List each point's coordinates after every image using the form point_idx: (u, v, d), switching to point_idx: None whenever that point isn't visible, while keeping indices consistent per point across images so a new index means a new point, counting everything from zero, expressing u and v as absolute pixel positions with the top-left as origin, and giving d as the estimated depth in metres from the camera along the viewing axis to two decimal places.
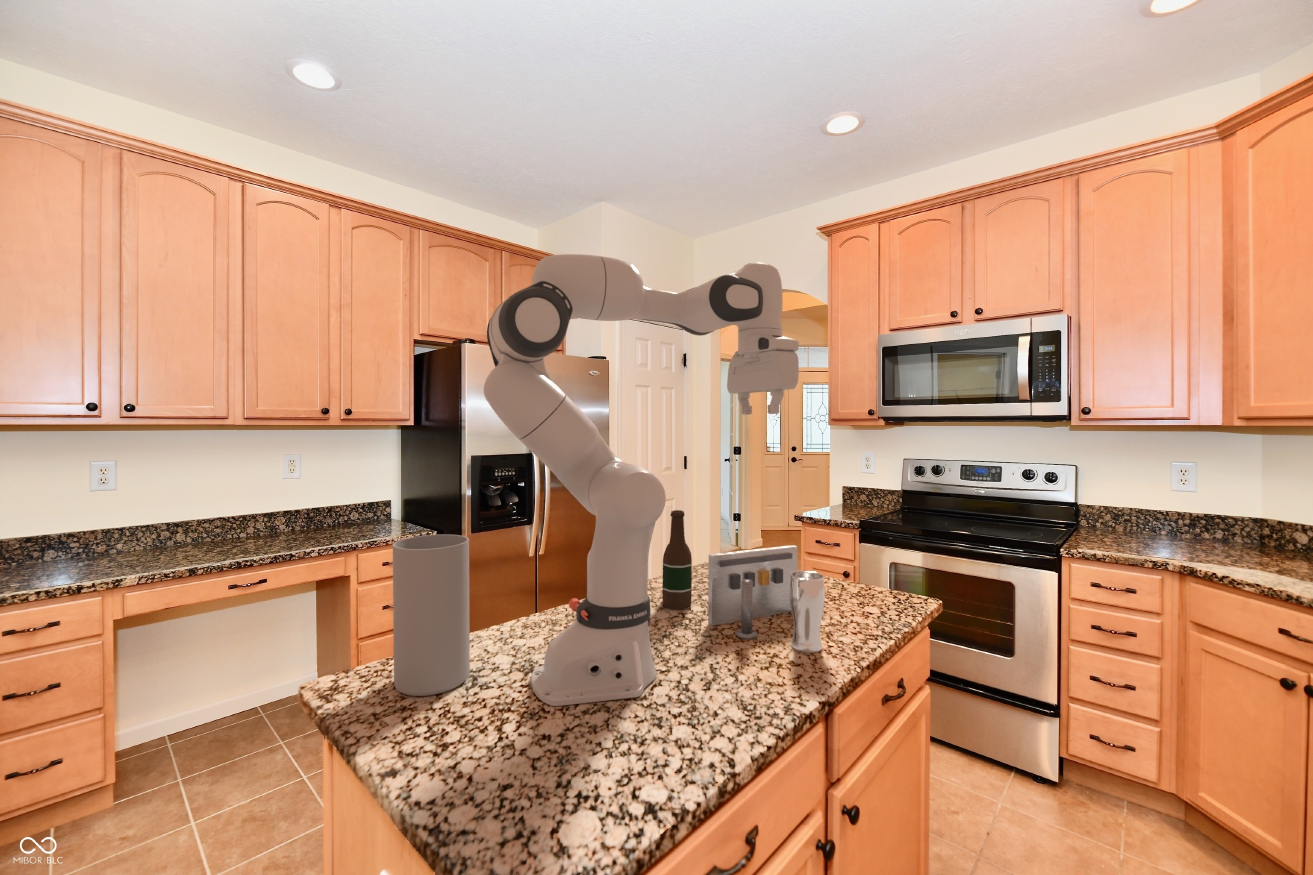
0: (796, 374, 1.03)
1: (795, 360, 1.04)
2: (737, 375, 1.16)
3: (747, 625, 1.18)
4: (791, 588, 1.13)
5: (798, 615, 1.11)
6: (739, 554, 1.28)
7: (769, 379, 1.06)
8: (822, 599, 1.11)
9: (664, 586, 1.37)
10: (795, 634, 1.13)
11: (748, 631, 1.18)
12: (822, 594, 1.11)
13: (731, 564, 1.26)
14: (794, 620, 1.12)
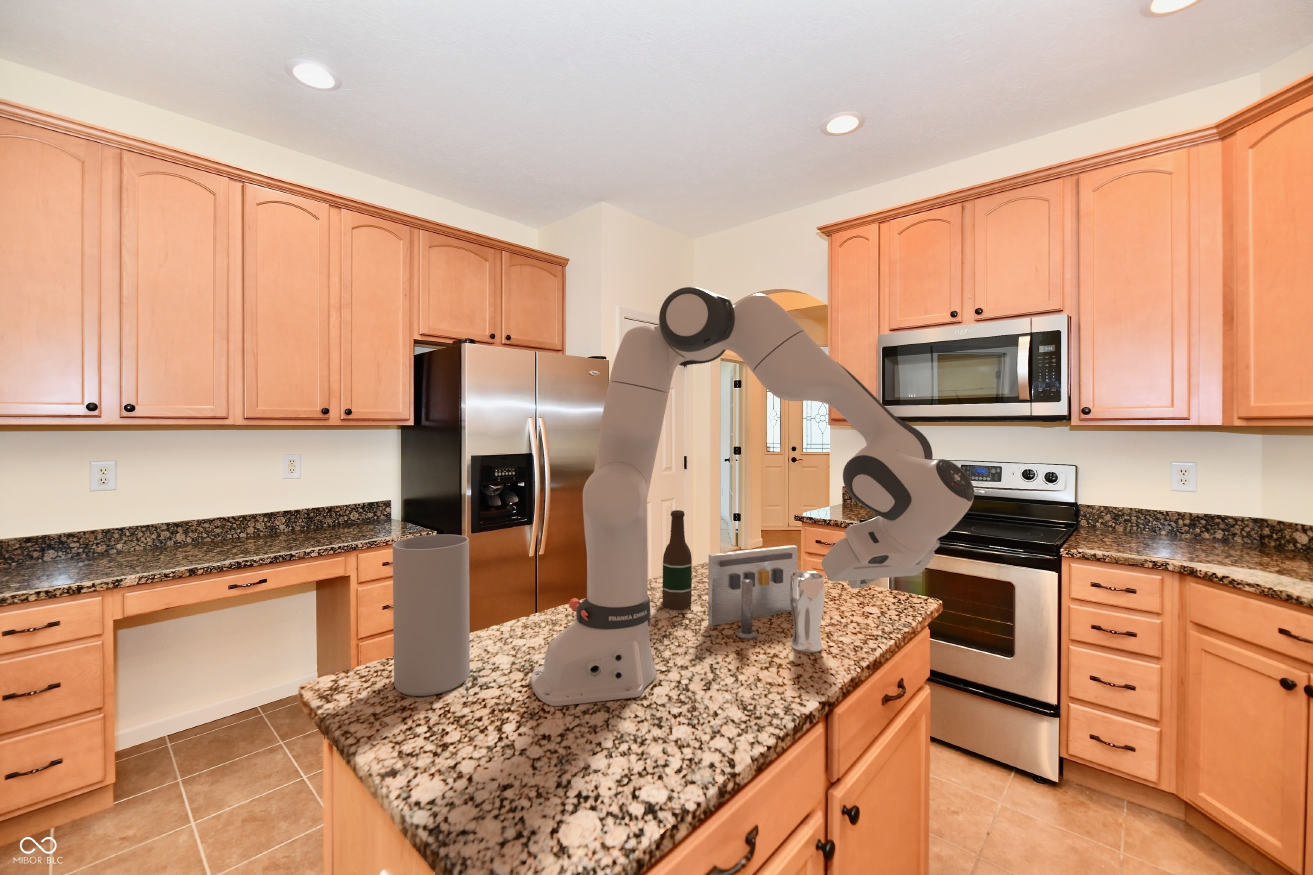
0: (834, 572, 0.91)
1: (843, 562, 0.90)
2: None
3: (747, 625, 1.18)
4: (791, 588, 1.13)
5: (798, 615, 1.11)
6: (739, 554, 1.28)
7: None
8: (822, 599, 1.11)
9: (664, 586, 1.37)
10: (795, 634, 1.13)
11: (748, 631, 1.18)
12: (822, 594, 1.11)
13: (731, 564, 1.26)
14: (794, 620, 1.12)
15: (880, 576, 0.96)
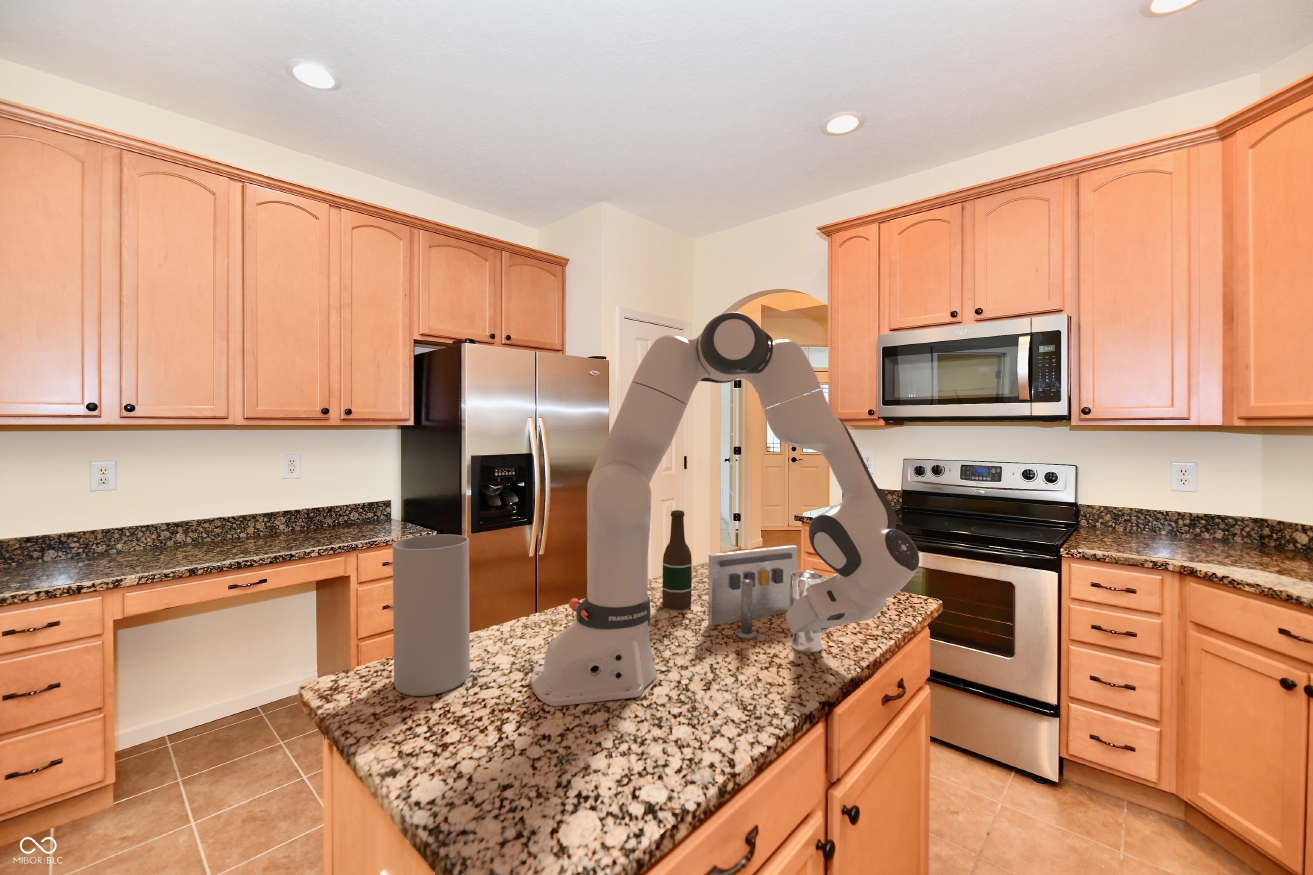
0: (796, 626, 1.01)
1: (805, 619, 0.99)
2: None
3: (747, 625, 1.18)
4: (791, 588, 1.13)
5: None
6: (739, 554, 1.28)
7: None
8: None
9: (664, 586, 1.37)
10: (795, 634, 1.13)
11: (748, 631, 1.18)
12: None
13: (731, 564, 1.26)
14: None
15: (838, 624, 1.06)
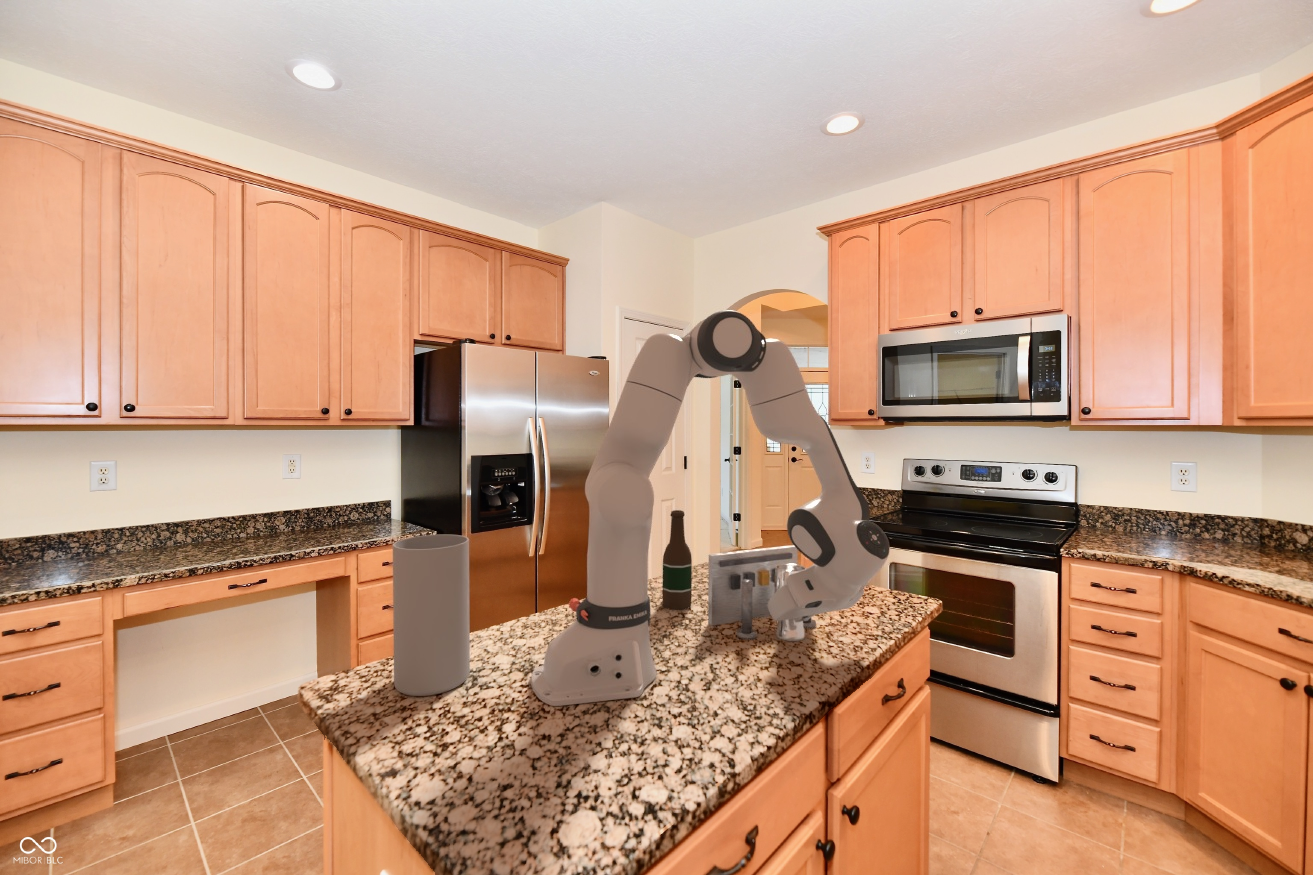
0: (777, 614, 1.06)
1: (785, 607, 1.05)
2: None
3: (747, 625, 1.18)
4: (775, 580, 1.18)
5: None
6: (739, 554, 1.28)
7: None
8: None
9: (664, 586, 1.37)
10: (779, 624, 1.18)
11: (748, 631, 1.18)
12: None
13: (731, 564, 1.26)
14: None
15: (818, 612, 1.11)
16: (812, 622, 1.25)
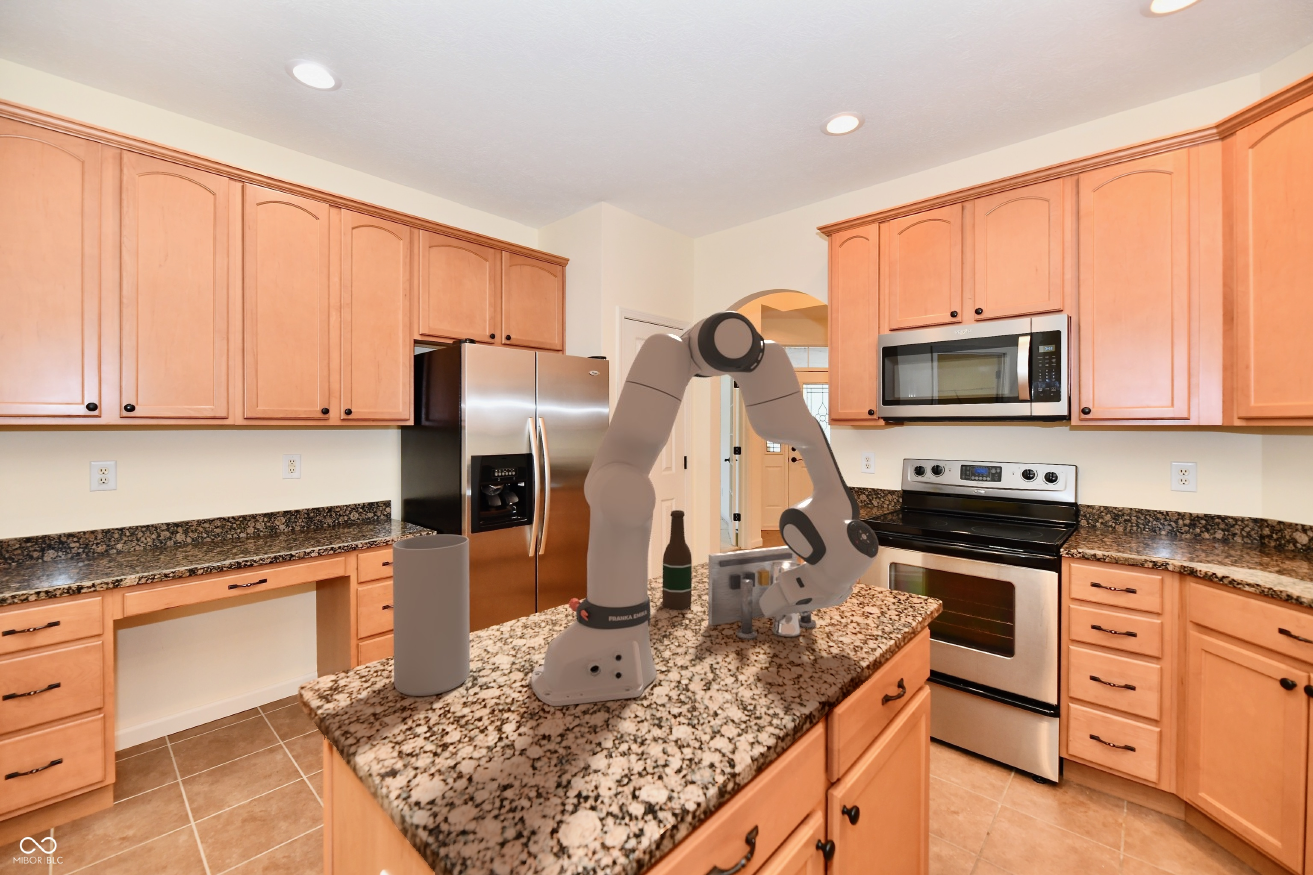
0: (768, 610, 1.09)
1: (776, 604, 1.07)
2: None
3: (747, 625, 1.18)
4: (772, 576, 1.20)
5: None
6: (739, 554, 1.28)
7: None
8: None
9: (664, 586, 1.37)
10: (776, 620, 1.20)
11: (748, 631, 1.18)
12: None
13: (731, 564, 1.26)
14: None
15: (808, 609, 1.14)
16: (812, 622, 1.25)
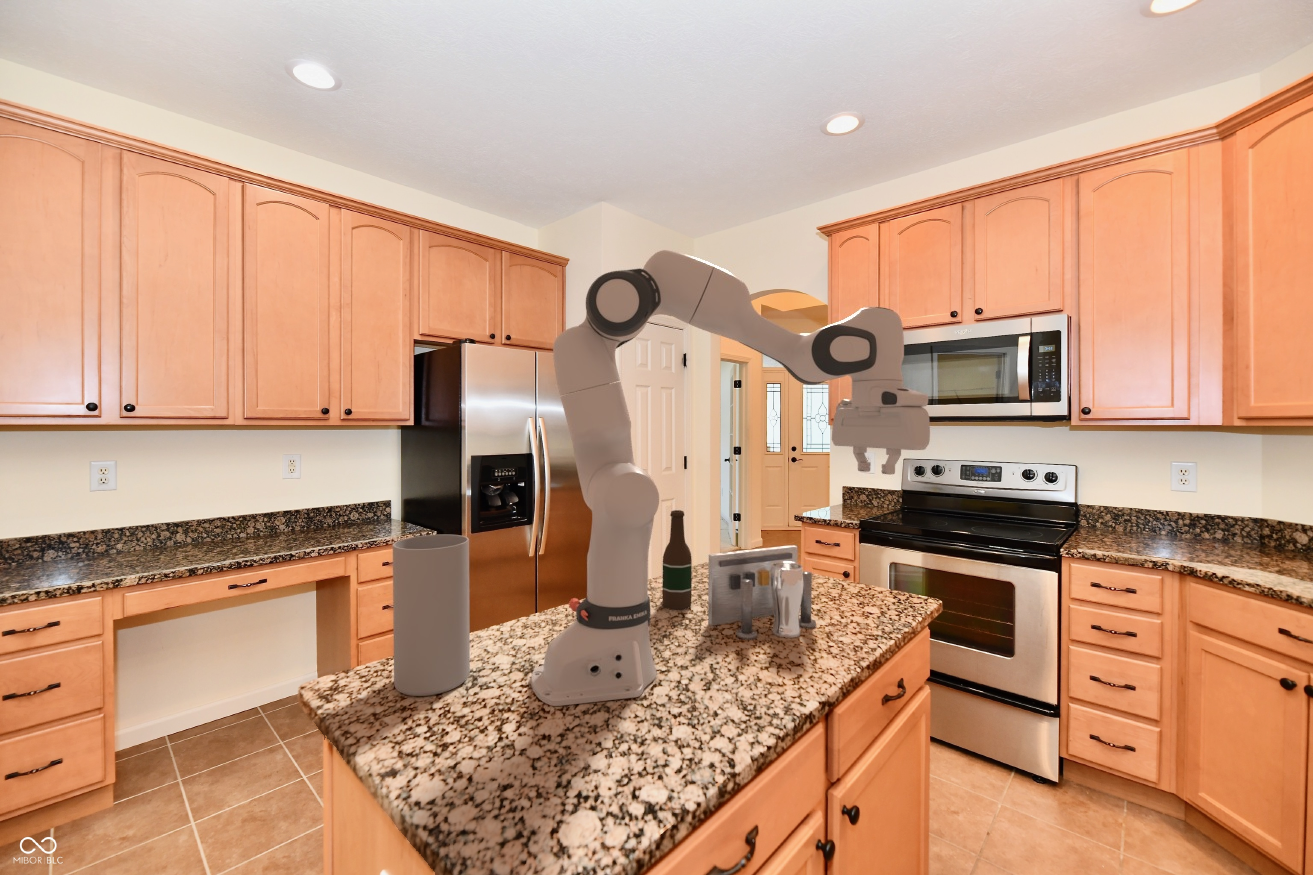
0: (928, 433, 0.93)
1: (926, 418, 0.93)
2: (847, 427, 1.05)
3: (747, 625, 1.18)
4: (772, 578, 1.20)
5: (779, 603, 1.19)
6: (739, 554, 1.28)
7: (894, 437, 0.95)
8: (801, 587, 1.18)
9: (664, 586, 1.37)
10: (776, 621, 1.20)
11: (748, 631, 1.18)
12: (801, 583, 1.18)
13: (731, 564, 1.26)
14: (775, 608, 1.20)
15: None
16: (812, 622, 1.25)
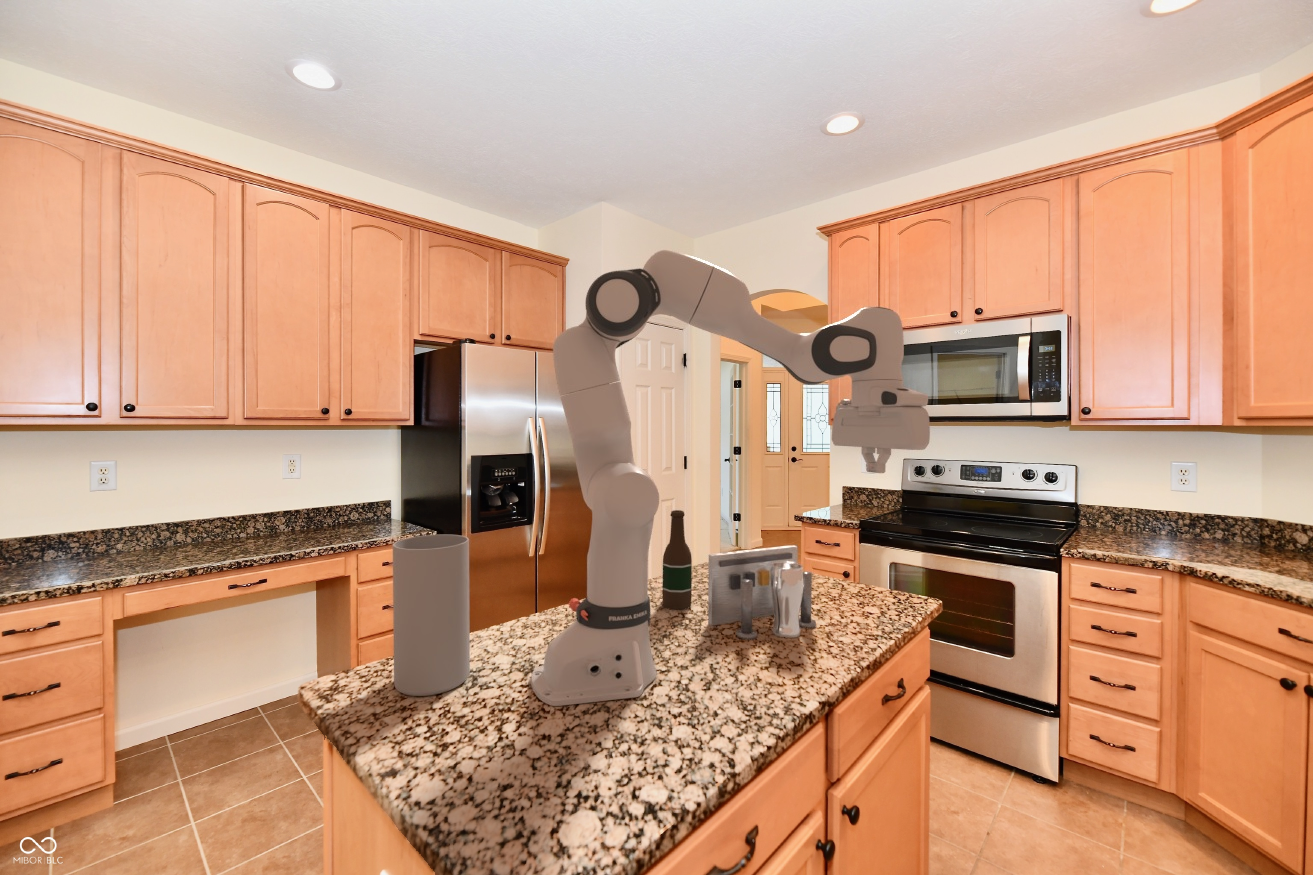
0: (927, 433, 0.93)
1: (926, 418, 0.93)
2: (847, 427, 1.05)
3: (747, 625, 1.18)
4: (772, 578, 1.20)
5: (779, 603, 1.19)
6: (739, 554, 1.28)
7: (894, 437, 0.95)
8: (801, 587, 1.19)
9: (664, 586, 1.37)
10: (776, 621, 1.20)
11: (748, 631, 1.18)
12: (801, 583, 1.19)
13: (731, 564, 1.26)
14: (775, 608, 1.20)
15: None
16: (812, 622, 1.25)
